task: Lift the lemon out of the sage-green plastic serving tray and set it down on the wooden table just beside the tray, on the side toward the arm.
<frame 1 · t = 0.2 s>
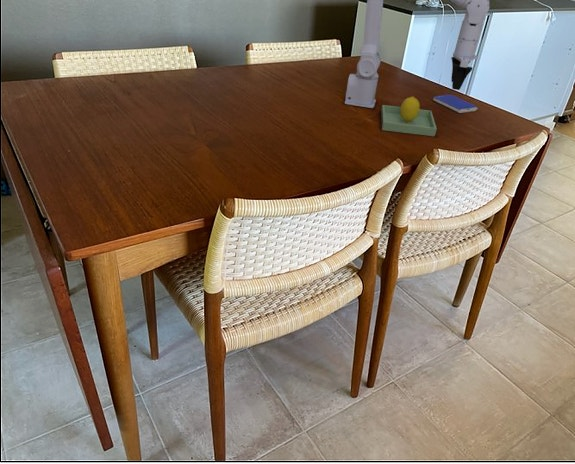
hand: (455, 85, 143), 10 cm above the table, tool pointing down, fingers open, 7 cm apart
lemon: (406, 123, 141), resting on tray
tray: (406, 123, 142), on the table
hard drive: (454, 106, 159), on the table
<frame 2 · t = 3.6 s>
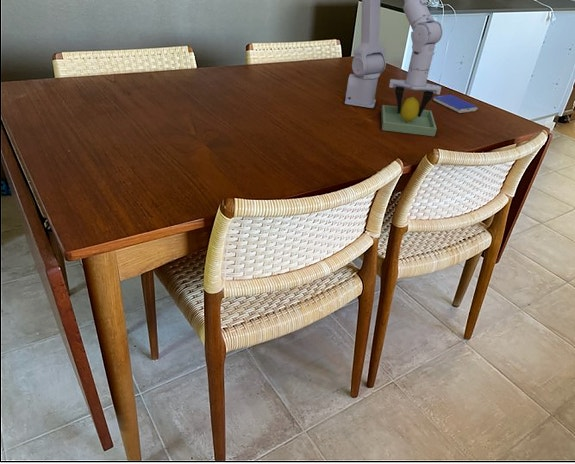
hand: (408, 114, 140), 3 cm above the table, tool pointing down, fingers closed on lemon, 5 cm apart
lemon: (406, 123, 141), resting on tray, touching gripper
everything else where it was.
when the fingers open (3 cm above the table, at t = 8.6 s): lemon stays where it is, on the table.
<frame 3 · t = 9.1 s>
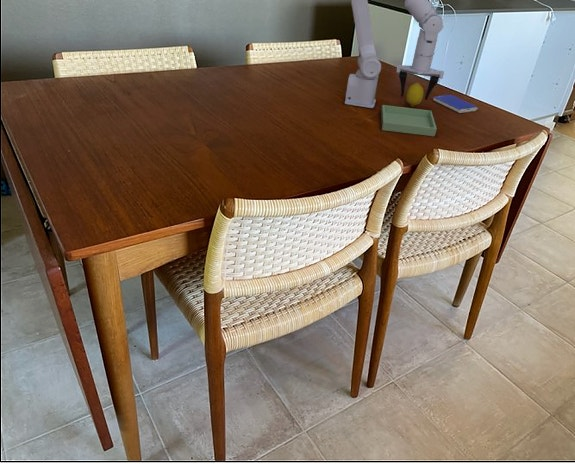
hand: (414, 97, 153), 3 cm above the table, tool pointing down, fingers open, 7 cm apart
lemon: (411, 107, 155), on the table
everything else where it was.
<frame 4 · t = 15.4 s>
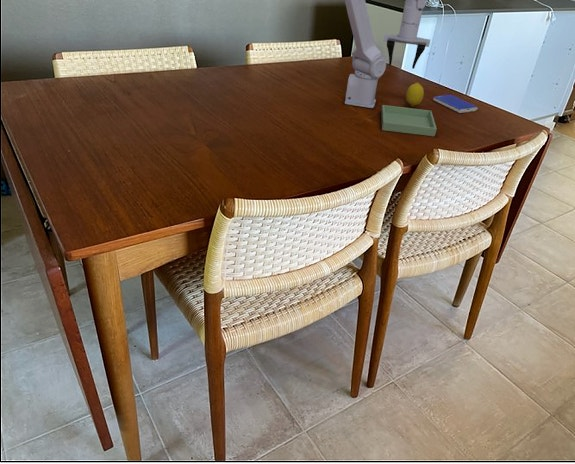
hand: (401, 66, 156), 10 cm above the table, tool pointing down, fingers open, 7 cm apart
nothing on the table moved.
at the end: lemon inside the target area (0.0 cm from its centre), on the table; lemon touching table; the gripper is holding nothing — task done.
